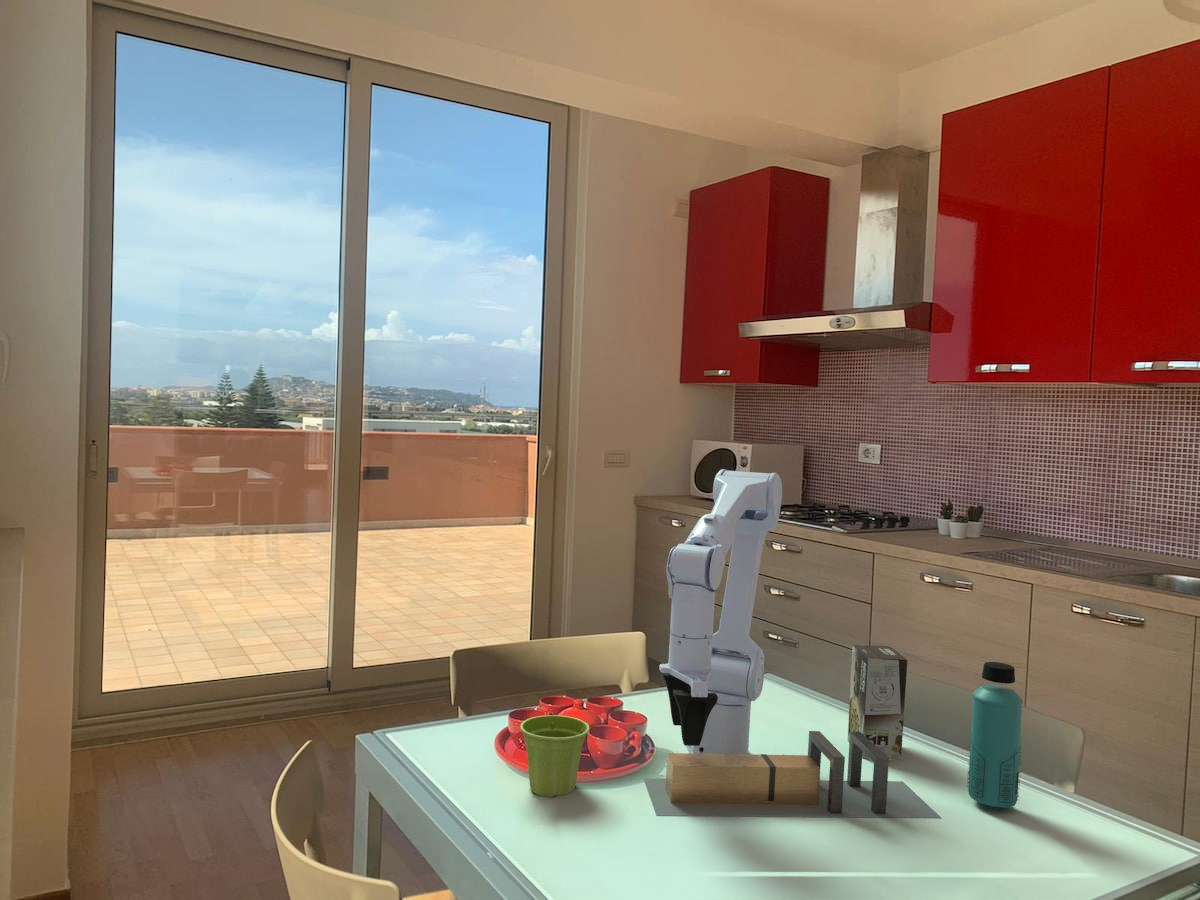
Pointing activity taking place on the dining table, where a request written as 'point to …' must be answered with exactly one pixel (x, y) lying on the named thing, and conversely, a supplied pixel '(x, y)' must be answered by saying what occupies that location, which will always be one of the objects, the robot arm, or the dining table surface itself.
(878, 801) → the collar
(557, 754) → the plant pot
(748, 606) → the robot arm
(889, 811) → the mat
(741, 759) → the striped wooden beam
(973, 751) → the beverage bottle
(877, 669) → the coffee box
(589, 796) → the dining table surface
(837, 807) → the collar
